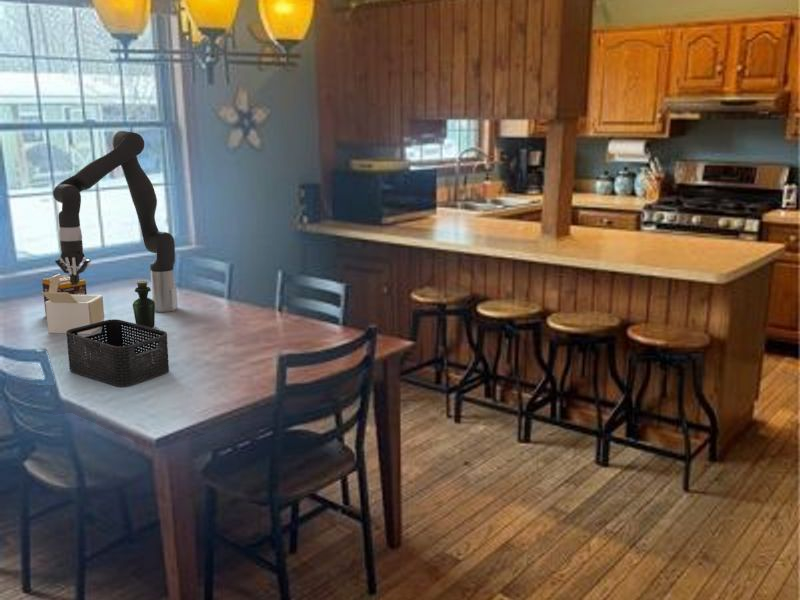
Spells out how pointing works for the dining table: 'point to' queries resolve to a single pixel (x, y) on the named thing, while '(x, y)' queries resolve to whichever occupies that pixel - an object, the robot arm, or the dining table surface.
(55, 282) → the short flap
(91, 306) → the carton
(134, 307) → the potion bottle
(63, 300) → the long flap
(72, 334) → the storage bin
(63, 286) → the supplement box
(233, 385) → the dining table surface
